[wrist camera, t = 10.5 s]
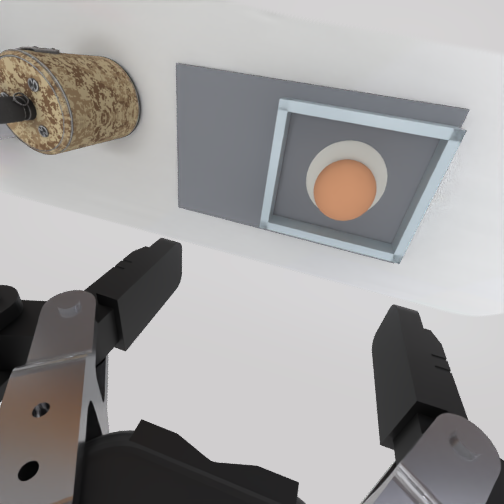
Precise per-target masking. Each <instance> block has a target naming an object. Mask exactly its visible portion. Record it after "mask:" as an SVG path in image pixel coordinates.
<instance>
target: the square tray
mask: <svg viewBox="0 0 504 504" xmlns="http://www.w3.org/2000/svg"><path fill="white" fill-rule="evenodd" d="M291 112H293V113H299V114H304V115H310V116H315V117H321V118H327V119H332V120H338V121H343V122H349V123H355V124H360V125H366V126H371V127H377V128H382V129H388V130H394V131H399V132H405V133H410V134H416V135H422V136H427V137H433V138H438V139H440V141H439V143H438V145H437V147H436V150H435V152H434V154H433V156H432V158H431V160H430V162H429V165H428V167H427V169H426V171H425V173H424V175H423V178H422V180H421V182H420V184H419V186H418V188H417V190H416V193H415V195H414V197H413V199H412V201H411V203H410V206H409V208H408V210H407V212H406V214H405V216H404V218H403V221H402V223H401V225H400V227H399V229H398V231H397V234H396V236H395V238H394V240H393V242H392V244H390V243H386V242H382V241H378V240H374V239H370V238H366V237H362V236H358V235H354V234H350V233H346V232H342V231H338V230H334V229H330V228H326V227H322V226H318V225H313V224H309V223H305V222H301V221H297V220H293V219H289V218H285V217H281V216H277V215H273V211H274V205H275V200H276V195H277V189H278V184H279V178H280V173H281V167H282V162H283V156H284V151H285V145H286V140H287V134H288V129H289V123H290V118H291ZM465 133H466V130H464V129H462V128H460V127H457V126H451V125H445V124H439V123H434V122H428V121H422V120H416V119H410V118H404V117H398V116H392V115H386V114H380V113H375V112H369V111H363V110H357V109H351V108H345V107H339V106H333V105H327V104H322V103H316V102H310V101H304V100H298V99H292V98H286V97H284V98H280V100H279V106H278V112H277V119H276V125H275V131H274V137H273V144H272V150H271V156H270V163H269V169H268V175H267V182H266V188H265V194H264V201H263V207H262V213H261V220H260V226H259V227H260V228H264V229H268V230H271V231H275V232H279V233H283V234H287V235H291V236H295V237H298V238H302V239H306V240H310V241H314V242H318V243H322V244H325V245H329V246H333V247H337V248H341V249H345V250H349V251H352V252H356V253H360V254H364V255H368V256H372V257H376V258H379V259H383V260H387V261H391V262H395V263H399V264H400V262H401V260H402V258H403V256H404V254H405V252H406V250H407V248H408V246H409V244H410V242H411V240H412V238H413V236H414V234H415V232H416V230H417V228H418V226H419V224H420V222H421V220H422V218H423V216H424V214H425V212H426V210H427V208H428V206H429V204H430V202H431V200H432V198H433V196H434V194H435V192H436V190H437V188H438V186H439V184H440V182H441V180H442V178H443V177H444V175H445V173H446V171H447V169H448V167H449V165H450V163H451V161H452V159H453V157H454V155H455V153H456V151H457V149H458V147H459V145H460V143H461V141H462V139H463V137H464V135H465ZM344 159H350V160H355V161H358V162H361V163H362V164H364V165H365V166H367V167H368V168H369V169H370V170H371V172H372V173H373V175H374V177H375V180H376V196H375V199H374V201H373V203H372V205H371V207H370V208H372V207H373V206H374V205H375V204H376V203H377V202H378V201H379V199H380V198H381V196H382V195H383V193H384V191H385V188H386V184H387V168H386V165H385V162H384V160H383V158H382V157H381V155H380V154H379V153H378V152H377V151H376V150H375V149H374V148H373V147H371V146H370V145H368V144H365V143H363V142H359V141H353V140H346V141H340V142H336V143H333V144H331V145H329V146H327V147H326V148H324V149H323V150H321V151H320V152H319V153H318V154H317V155H316V157H315V158H314V159H313V161H312V162H311V164H310V166H309V168H308V172H307V176H306V187H307V192H308V194H309V197H310V199H311V200H312V202H313V203H314V204H315V205H316V203H315V199H314V193H313V192H314V184H315V181H316V179H317V177H318V175H319V174H320V172H321V171H322V170H323V169H324V168H325V167H326V166H328V165H329V164H331V163H333V162H336V161H339V160H344ZM316 206H317V205H316ZM370 208H369V209H370ZM369 209H368V210H369Z"/></svg>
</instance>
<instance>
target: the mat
mask: <svg viewBox="0 0 504 504" xmlns="http://www.w3.org/2000/svg"><path fill="white" fill-rule="evenodd" d="M176 94H177V150H178V206H179V207H180V208H183V209H187V210H191V211H195V212H199V213H203V214H206V215H210V216H214V217H218V218H222V219H226V220H230V221H233V222H237V223H241V224H245V225H249V226H253V227H256V228H260V227H259V226H260V220H261V213H262V207H263V201H264V194H265V188H266V182H267V175H268V169H269V163H270V156H271V150H272V144H273V137H274V131H275V125H276V119H277V112H278V106H279V100H280V98H284V97H286V98H292V99H298V100H304V101H310V102H316V103H322V104H327V105H333V106H339V107H345V108H351V109H357V110H363V111H369V112H375V113H380V114H386V115H392V116H398V117H404V118H410V119H416V120H422V121H428V122H434V123H439V124H445V125H451V126H457V127H460V128H461V126H462V124H463V122H464V120H465V118H466V116H467V114H468V112H469V109H464V108H457V107H451V106H445V105H438V104H432V103H426V102H419V101H413V100H407V99H401V98H394V97H388V96H382V95H375V94H369V93H363V92H356V91H350V90H344V89H337V88H331V87H325V86H318V85H312V84H306V83H300V82H293V81H287V80H281V79H274V78H268V77H262V76H255V75H249V74H243V73H236V72H230V71H224V70H218V69H211V68H205V67H199V66H192V65H186V64H180V63H176ZM346 140H353V141H359V142H363V143H365V144H368V145H370V146H371V147H373V148H374V149H375V150H376V151H377V152H378V153H379V154H380V155H381V157H382V158H383V160H384V162H385V165H386V168H387V184H386V188H385V191H384V193H383V195H382V196H381V198H380V199H379V201H378V202H377V203H376V204H375V205H374V206H373V207H372V208H370V209H369V210H367V211H366V212H365V213H364V214H362V215H361V216H359V217H357V218H355V219H352V220H347V221H339V220H334V219H331V218H329V217H327V216H326V215H324V214H323V213H322V212H321V211H320V210H319V208H318V207H317V206H316V205H315V204H314V203H313V202H312V200H311V199H310V197H309V194H308V192H307V187H306V176H307V172H308V168H309V166H310V164H311V162H312V161H313V159H314V158H315V157H316V155H317V154H318V153H319V152H320V151H321V150H323V149H324V148H326V147H327V146H329V145H331V144H333V143H336V142H340V141H346ZM439 141H440V139H438V138H433V137H427V136H422V135H416V134H410V133H405V132H399V131H394V130H388V129H382V128H377V127H371V126H366V125H360V124H355V123H349V122H343V121H338V120H332V119H327V118H321V117H315V116H310V115H304V114H299V113H293V112H291V118H290V123H289V129H288V134H287V140H286V145H285V151H284V156H283V162H282V167H281V173H280V178H279V184H278V189H277V195H276V200H275V205H274V211H273V215H277V216H281V217H285V218H289V219H293V220H297V221H301V222H305V223H309V224H313V225H318V226H322V227H326V228H330V229H334V230H338V231H342V232H346V233H350V234H354V235H358V236H362V237H366V238H370V239H374V240H378V241H382V242H386V243H390V244H392V242H393V240H394V238H395V236H396V234H397V231H398V229H399V227H400V225H401V223H402V221H403V218H404V216H405V214H406V212H407V210H408V208H409V206H410V203H411V201H412V199H413V197H414V195H415V193H416V190H417V188H418V186H419V184H420V182H421V180H422V178H423V175H424V173H425V171H426V169H427V167H428V165H429V162H430V160H431V158H432V156H433V154H434V152H435V150H436V147H437V145H438V143H439ZM260 229H264V228H260ZM264 230H268V229H264ZM268 231H271V230H268ZM272 232H275V231H272ZM276 233H279V232H276ZM280 234H283V233H280ZM283 235H287V234H283ZM287 236H291V235H287ZM291 237H295V236H291ZM295 238H298V237H295ZM299 239H302V238H299ZM303 240H306V239H303ZM306 241H310V240H306ZM310 242H314V241H310ZM314 243H318V242H314ZM318 244H322V243H318ZM322 245H325V244H322ZM326 246H329V245H326ZM330 247H333V246H330ZM333 248H337V247H333ZM337 249H341V248H337ZM341 250H345V249H341ZM345 251H349V250H345ZM349 252H352V251H349ZM353 253H356V252H353ZM356 254H360V253H356ZM360 255H364V254H360ZM364 256H368V255H364ZM368 257H372V256H368ZM372 258H376V257H372ZM376 259H379V258H376ZM379 260H383V259H379ZM383 261H387V260H383ZM387 262H391V261H387ZM391 263H395V262H391Z"/></svg>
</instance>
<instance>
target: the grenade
mask: <svg viewBox="0 0 504 504" xmlns="http://www.w3.org/2000/svg"><path fill="white" fill-rule="evenodd" d="M139 110H140V109H139V100H138V95H137V92H136V89H135V87H134V85H133V83H132V81H131V79H130V78H129V76H128V75H127V73H126V72H125V71H124V70H123V68H122V67H120V66H119V65H118V64H117V63H116V62H114V61H112V60H110V59H108V58H106V57H101V56H89V55H77V54H66V53H59V50H56V49H55V48H52V49H47V48H37V47H36V46H34V47H20V48H17V49H8V50H5V51H3V52H2V53H0V124H6V125H7V126H8V128H9V129H10V130H11V131H12V132H13V134H14V135H15V136H16V137H17V138H18V139H20V140H21V141H22V142H23V143H25V144H26V145H27V146H29V147H30V148H32V149H33V150H35V151H38V152H40V153H43V154H48V155H55V154H59V153H63V152H66V151H70V150H74V149H78V148H82V147H86V146H90V145H94V144H98V143H102V142H106V141H110V140H114V139H118V138H122V137H125V136H127V135H129V134H130V133H131V132H132V131H133V130H134V129H135V127H136V125H137V122H138V119H139Z"/></svg>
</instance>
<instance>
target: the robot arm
mask: <svg viewBox="0 0 504 504" xmlns="http://www.w3.org/2000/svg"><path fill="white" fill-rule="evenodd" d="M11 137H16V136H15V135H14V134H13V132H12V131H11V130H10V129H9V128H8V126H7V125H6V124H0V139H5V138H11ZM181 276H182V246H181V244H180V243H178V242H175V241H171V240H168V239H164V238H160V239H159V240H158V241H156V242H155V243H154V244H153V245H152V246H150V247H146V246H145V247H143V248H140V249H138V250H135V251H133V252H132V253H130V254H129V255H128V256H127V257H125V258H124V259H123V261H120V262H119V263H118V264H117V265H116V266H115V267H113V268H112V269H111V270H109V271H108V272H107V273H106V274H104V275H103V276H102V277H101V278H99V279H98V280H97V281H96V282H94V283H93V284H92V285H91V286H89V287H88V288H87V289H86V290H84V291H82V290H73V291H67V292H64V293H60V294H58V295H56V296H54V297H52V298H51V299H49V300H48V301H29V300H21V299H20V297H19V294H18V292H17V290H16V289H15V288H13V287H11V286H7V285H0V402H1V401H2V403H1V406H0V504H305V503H304V502H303V501H302V500H301V499H300V498H298V497H297V493H298V485H299V483H298V482H296V481H294V480H291V479H289V478H286V477H283V476H281V475H279V474H276V473H274V472H271V471H269V470H266V469H264V468H261V467H259V466H253V465H241V464H229V463H217V462H213V461H210V460H209V459H208V458H206V457H205V456H204V455H203V454H201V453H200V452H199V451H198V450H197V449H195V448H194V447H193V446H192V445H191V444H189V443H188V442H187V441H186V440H184V439H183V438H182V437H181V436H179V435H178V434H177V433H174V432H172V431H169V430H166V429H164V428H162V427H159V426H156V425H154V424H152V423H149V422H147V421H144V420H141V421H140V423H139V424H138V426H137V428H136V429H135V431H118V432H113V433H109V425H108V416H107V387H108V353H109V352H110V351H111V350H112V349H113V348H114V347H115V348H118V349H121V350H124V351H126V350H127V349H128V348H129V347H130V345H131V344H132V343H133V341H134V340H135V339H136V338H137V336H139V334H140V333H141V332H142V331H143V329H144V328H145V327H146V326H147V324H148V323H149V322H150V321H151V320H152V318H153V317H154V316H155V314H156V313H157V312H158V311H159V310H160V308H161V307H162V306H163V305H164V304H165V302H166V301H167V300H168V299H169V297H170V296H171V295H172V294H173V293H174V291H175V290H176V289H177V287H178V285H179V283H180V280H181ZM372 357H373V368H374V379H375V390H376V401H377V413H378V424H379V436H380V445H382V446H385V447H388V448H390V449H393V450H394V451H395V459H396V461H395V462H394V463H393V464H392V465H391V466H390V467H389V469H388V470H387V471H386V472H385V474H384V475H383V476H382V477H381V479H380V480H379V481H378V482H377V484H376V485H375V486H374V487H373V489H372V490H371V491H370V492H369V494H368V495H367V496H366V497H365V498H364V500H363V501H362V502H361V504H504V461H503V460H502V459H500V458H499V455H498V452H497V450H496V448H495V447H494V445H493V444H492V442H491V441H490V439H489V438H488V437H487V436H486V435H485V434H484V433H483V431H482V430H480V429H479V428H478V427H477V426H476V425H475V424H473V423H472V422H470V421H469V420H468V418H467V415H466V413H465V410H464V407H463V404H462V402H461V398H460V396H459V393H458V390H457V387H456V384H455V381H454V378H453V376H452V373H450V367H449V364H448V362H447V361H446V356H445V353H444V350H443V347H442V344H441V343H440V342H439V341H438V339H437V338H436V337H435V335H434V334H433V333H432V332H431V330H427V329H424V328H423V325H422V322H421V319H420V316H419V313H418V312H417V311H415V310H411V309H408V308H404V307H401V306H397V305H392V306H391V307H390V309H389V311H388V313H387V314H386V316H385V318H384V320H383V322H382V323H381V325H380V327H379V329H378V330H377V332H376V334H375V336H374V340H373V345H372Z"/></svg>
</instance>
